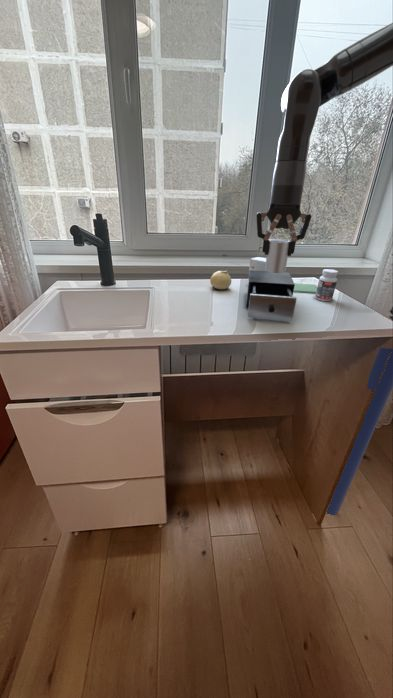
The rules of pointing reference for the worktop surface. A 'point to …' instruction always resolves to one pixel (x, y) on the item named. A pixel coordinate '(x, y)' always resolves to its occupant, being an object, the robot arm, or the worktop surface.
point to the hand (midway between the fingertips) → (277, 254)
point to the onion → (220, 280)
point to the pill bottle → (326, 285)
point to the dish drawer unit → (268, 281)
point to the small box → (257, 264)
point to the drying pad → (305, 288)
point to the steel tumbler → (277, 255)
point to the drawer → (271, 303)
